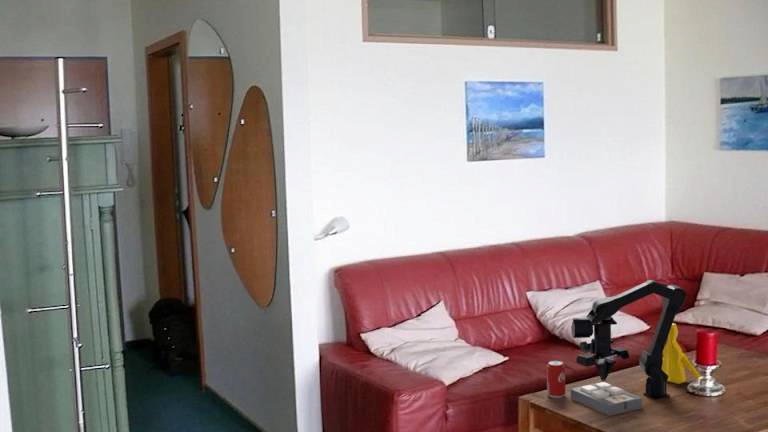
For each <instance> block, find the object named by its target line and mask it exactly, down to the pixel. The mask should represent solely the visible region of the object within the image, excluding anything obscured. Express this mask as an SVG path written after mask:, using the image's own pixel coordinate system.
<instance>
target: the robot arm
mask: <svg viewBox="0 0 768 432" xmlns="http://www.w3.org/2000/svg"><path fill="white" fill-rule="evenodd" d="M652 294H655V295H657V296H660V297H662V310H661V313H660V316H659V319H658V322H657V325H656V327H655V330H654V334H653V336H652V339H651V343H650V345H649V347H648V348H647V349H646V350H645V349H641V354H640V357H639V358H638V361H639V367H640V368H641V370H642V371H643V372H644V373H645V375H646V376H647V377H646V379H645V381H646V382H645V392H643V393H642V394H643V395H644V396H646V397H648V398H651V399H653V400H659V399H665V398H668V397H670V396H671V394H669V393H668V392H667V391H668V390H667V385H668V384H667V382H668V381H667V380H668V377H669V376H668V375H667V374H666V373H665V372H664V371H663V370H662V367H663V366H662V364H663V357H664V356H663V350H664V347H665V345H666V344H667V342H668V339H667V338H668V335H669V332H670V330H671V327H672V324H673V323H674V321H675V317H676V315H677V314H678V312H679V311H680V310H681V309H682V307H683V306H684V305H685V302H686V300H687V297H688V296H687V293H686V290H684V289H683V288H681V287H680V286H678V285H677V284H668V285H667V284H665V283H663V282H662V283H661V282H658V281H656V280H653V279H648V280H646V281H645V282H643V283H641V284H639V285H636V286H634V287H631V288H630V289H627V290H625V291H623V292H621V293H619V294H617V295H613V296H607V297H604V298H600V299H597V300H595V301H593V303H592V307H591V309H590V310H589V312H588V314H587V315H586V317H582V318H581V317H580V318H579V317H572V322H571V326H570V330H571V331H570V332H571V337H572V339H586V338H591V337H592V336H593V338H591V341H590V342H589V343H588V342H587V341H586V340H585V341H579V347H578V348H579V350H580V351H581V352H584V353H582V354H578V355H577V356H576V363H577V364H579V365H581V366H584V367H593V366H595V368H596V370H597V373H598V375H599V377H600V380H601V382H605V381H606V380H607V379H608V376H609V374H610V372H611V370H612V369H613V367H614V365H615V364H617V360H615V359H614V358H617V357H620V358H621V359H622V360H627V359H630V352H629V350H628V349H626V348H622V347H620V346H617V347H612V345H613V344H614V343H615V342H614V340H613V339H612V325H617V324H618V322H617V321H616V320H615V319H614V318H613V316H614V315H615V314H617V312H619V311H620V310H621V309H622V308H624V307H625V306H628V305H630V304H633V303H635V302H636V301H639V300H641V299H643V298H645V297H647V296H651V295H652ZM588 353H590V354H588Z"/></svg>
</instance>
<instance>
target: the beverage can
mask: <svg viewBox="0 0 768 432" xmlns="http://www.w3.org/2000/svg"><path fill="white" fill-rule="evenodd" d="M546 393H547V395H548V396H549V397H550V398H553V399H560V398H561V399H562V398H563V397H564V396H565V395H566V366H565V365H564V363H563V361H560V360H550V361H548V364H547V365H546Z"/></svg>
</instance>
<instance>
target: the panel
mask: <svg viewBox="0 0 768 432" xmlns="http://www.w3.org/2000/svg"><path fill="white" fill-rule="evenodd" d="M597 383H598V382H597ZM597 383H591V384H590V385H592V386H594V387H595V384H597ZM581 387H582V386H577V387H574V388H570V399H572V400H573V401H575V402H578V403H579V404H582V405H585V406H586V407H588V408H590V409H593V410H595V411H596V412H597V411H598V412H600V413H602V414H603V415H605V414H606V416H608V417H610V416H614V415H615V416H616V415H619V414H624V413H627V412H628V413H629V412H633V411H636V410H641V409H643V397H642V396H639V395H636V394H633V393H631V392H628V391H626V390H624V389H623V394H620V395H615V396H613V395H611V394H609V397H606V398H602V399H598V398H596V397H594V396H592V393H590V394H587V393H585V392H582V391H581ZM612 387H615V385H612ZM598 390H599V389H598ZM604 391H606V390H604Z"/></svg>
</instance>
